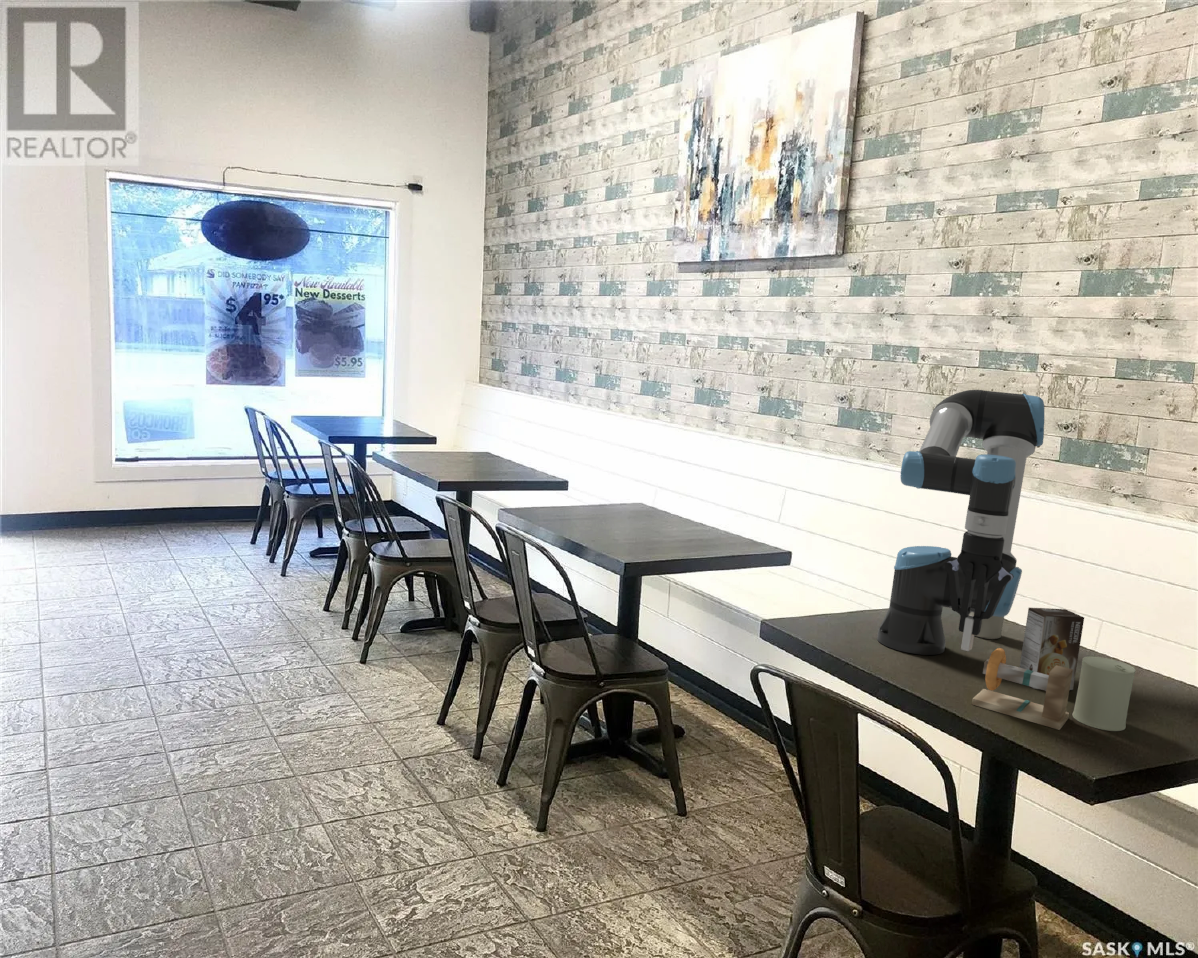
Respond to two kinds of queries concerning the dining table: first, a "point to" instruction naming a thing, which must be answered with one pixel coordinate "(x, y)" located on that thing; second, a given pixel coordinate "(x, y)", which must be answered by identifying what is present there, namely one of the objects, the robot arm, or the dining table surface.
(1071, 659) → the coffee box
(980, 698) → the pipe stand
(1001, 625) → the travel mug
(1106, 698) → the can
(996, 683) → the ring
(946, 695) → the dining table surface
